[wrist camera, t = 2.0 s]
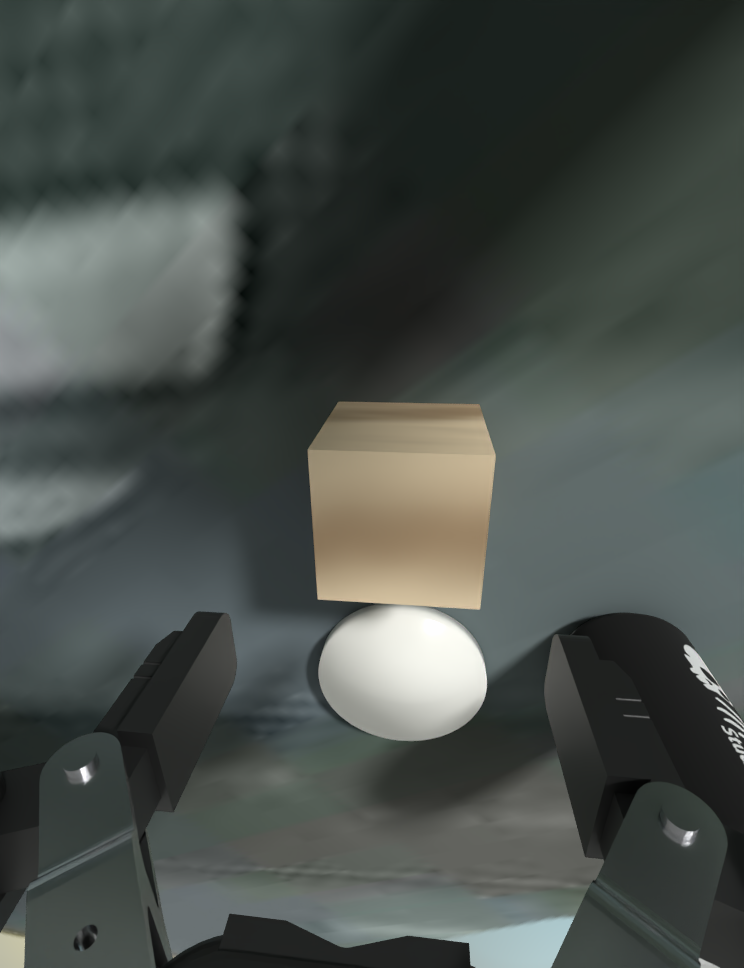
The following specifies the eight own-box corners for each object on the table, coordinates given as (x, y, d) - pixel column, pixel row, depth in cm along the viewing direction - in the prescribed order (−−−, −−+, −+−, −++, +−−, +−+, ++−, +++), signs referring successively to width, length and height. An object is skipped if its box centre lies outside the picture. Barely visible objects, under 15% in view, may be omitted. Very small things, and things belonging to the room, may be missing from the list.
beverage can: (714, 659, 25) (932, 971, 14) (602, 719, 27) (714, 1023, 16) (633, 579, 23) (807, 857, 13) (523, 649, 26) (590, 932, 15)
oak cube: (338, 400, 21) (307, 449, 16) (479, 403, 21) (495, 455, 15) (343, 522, 24) (317, 599, 19) (468, 527, 23) (479, 609, 18)
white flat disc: (317, 597, 26) (313, 609, 25) (492, 607, 25) (494, 621, 24) (325, 718, 30) (322, 733, 29) (478, 732, 29) (479, 747, 28)
